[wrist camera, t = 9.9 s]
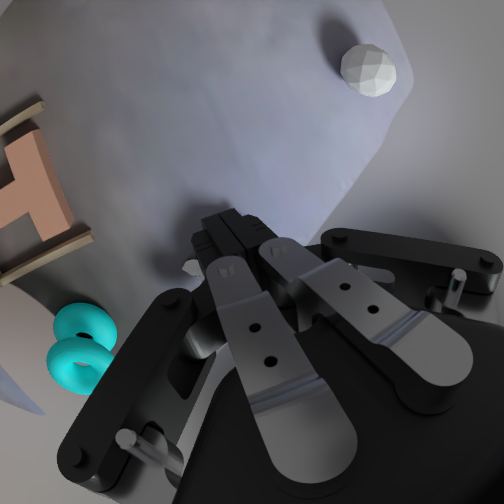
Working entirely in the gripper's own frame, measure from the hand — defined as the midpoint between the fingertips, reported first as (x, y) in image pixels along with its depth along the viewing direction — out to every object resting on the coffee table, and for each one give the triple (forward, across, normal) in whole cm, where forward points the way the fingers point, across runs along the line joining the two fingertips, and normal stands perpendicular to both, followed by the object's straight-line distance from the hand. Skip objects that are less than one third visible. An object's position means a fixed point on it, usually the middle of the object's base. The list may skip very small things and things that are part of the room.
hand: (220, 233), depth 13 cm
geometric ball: (+23, -27, -7) cm, 36 cm away
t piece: (+23, +20, -3) cm, 30 cm away
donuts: (+23, +20, +18) cm, 35 cm away
